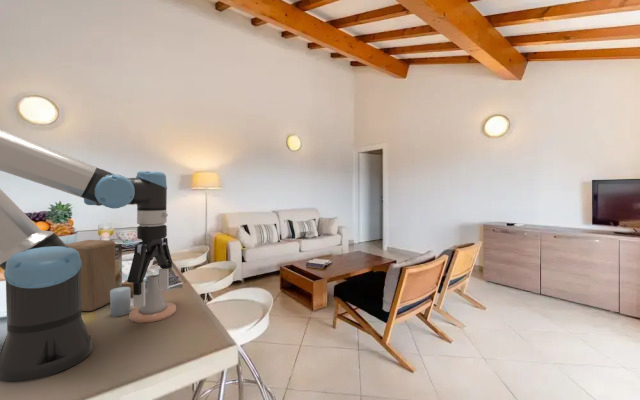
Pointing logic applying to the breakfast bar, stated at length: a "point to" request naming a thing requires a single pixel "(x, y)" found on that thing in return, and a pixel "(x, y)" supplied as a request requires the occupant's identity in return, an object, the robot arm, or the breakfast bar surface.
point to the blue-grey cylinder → (120, 301)
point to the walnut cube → (127, 284)
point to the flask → (153, 297)
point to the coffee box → (118, 264)
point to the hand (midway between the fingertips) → (152, 297)
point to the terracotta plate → (146, 318)
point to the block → (96, 272)
